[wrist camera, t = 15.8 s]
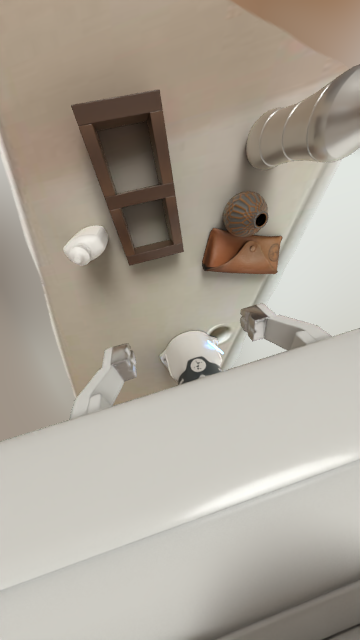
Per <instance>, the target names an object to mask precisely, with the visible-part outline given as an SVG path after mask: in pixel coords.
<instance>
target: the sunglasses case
mask: <svg viewBox="0 0 360 640" xmlns="http://www.w3.org/2000/svg"><path fill="white" fill-rule="evenodd" d="M281 240H282V236H272V237H271V236H257V235H251V236H248V237H237V236H235V235H233V234H231V233H230V232H229V231H225V230H221V229H217V228H213V229H212V230H211V232H210V235H209V238H208V241H207V245H206V249H205V253H204V257H203V261H202V266H203V269H204V270H205V271H214V272H227V273H249V274H276V273H277V272H278V271H277V265H278V257H279V249H280V242H281Z"/></svg>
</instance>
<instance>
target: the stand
mask: <svg viewBox="0 0 360 640" xmlns="http://www.w3.org/2000/svg"><path fill="white" fill-rule="evenodd" d="M71 107H72V110H73V112H74V115H75V118H76V121H77V123H78V126H79V129H80V131H81V134H82V137H83V140H84V142H85V145H86V148H87V151H88V153H89V156H90V159H91V162H92V164H93V167H94V170H95V172H96V175H97V178H98V181H99V183H100V186H101V189H102V192H103V194H104V197H105V200H106V203H107V205H108V208H109V210H110V214H111V216H112V219H113V222H114V224H115V227H116V230H117V233H118V235H119V238H120V241H121V244H122V246H123V249H124V252H125V255H126V257H127V260H128V263H129V265H133V264H137V263H141V262H145V261H149V260H153V259H157V258H161V257H165V256H169V255H173V254H176V253H180V252H184V250H183V243H182V237H181V230H180V223H179V217H178V210H177V203H176V197H175V190H174V183H173V176H172V170H171V163H170V156H169V150H168V143H167V136H166V130H165V123H164V116H163V111H162V103H161V97H160V90H153V91H148V92H142V93H136V94H131V95H125V96H120V97H114V98H109V99H103V100H97V101H92V102H86V103H81V104H75V105H71ZM146 121H147V124H148V129H149V134H150V139H151V145H152V150H153V155H154V160H155V165H156V171H157V176H158V181H159V185H154V186H150V187H145V188H141V189H136V190H132V191H127V192H123V193H118V194H117V193H116V189H115V186H114V183H113V180H112V177H111V174H110V171H109V168H108V165H107V162H106V159H105V156H104V152H103V149H102V146H101V143H100V140H99V137H98V134H97V131H99V130H104V129H109V128H115V127H120V126H125V125H130V124H135V123H141V122H146ZM157 199H162V202H163V207H164V212H165V217H166V223H167V228H168V233H169V238H170V240H166V241H162V242H157V243H153V244H149V245H145V246H141V247H137V248H134V245H133V242H132V239H131V236H130V233H129V230H128V226H127V223H126V220H125V217H124V214H123V211H122V207H127V206H131V205H136V204H140V203H144V202H149V201H153V200H157Z"/></svg>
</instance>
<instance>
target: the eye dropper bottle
mask: <svg viewBox="0 0 360 640" xmlns="http://www.w3.org/2000/svg"><path fill="white" fill-rule="evenodd" d="M108 239H109V236H108V234H107V232H106V230H105V228H104V227H103V226H89V227H86V228H84V229H82V230H80V231H79V232H78V233H77V234H76V235H75V236H74V237H73V238H72V239H71V240H70V241H69V242H68V243H67V244H66V245H65V247H64V249H63V250H64V253H65V254H66V256H67V257H68V258H69V260H70V261H72V262H74V263H75V264H77V265H86V264H88V263H89V261H91V260H93V259H95V258H97V257H98V256H100V255H101V254H102V253H103V251H104V250H105V248H106V245H107V242H108Z"/></svg>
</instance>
